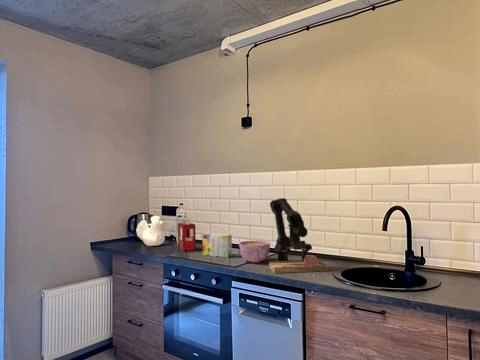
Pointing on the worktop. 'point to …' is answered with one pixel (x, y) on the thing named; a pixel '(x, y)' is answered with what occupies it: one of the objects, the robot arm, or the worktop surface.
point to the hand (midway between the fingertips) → (295, 262)
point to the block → (310, 259)
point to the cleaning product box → (186, 237)
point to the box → (296, 267)
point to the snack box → (217, 245)
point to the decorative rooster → (151, 231)
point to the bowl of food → (254, 250)
